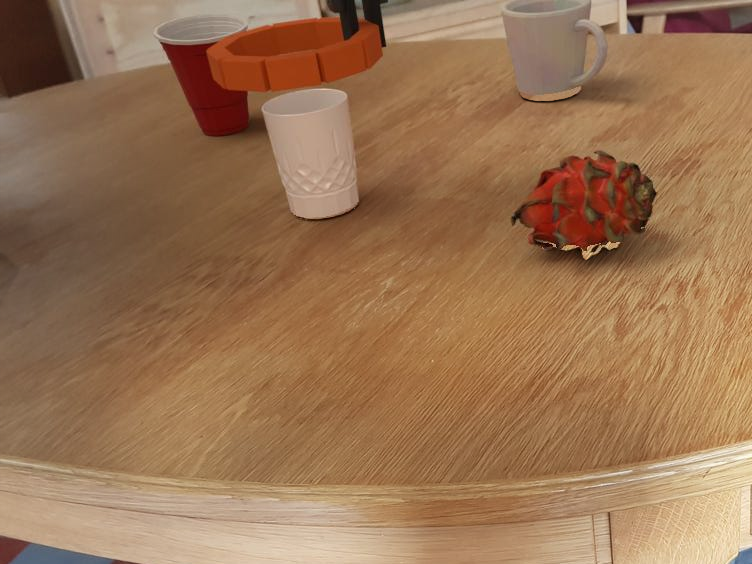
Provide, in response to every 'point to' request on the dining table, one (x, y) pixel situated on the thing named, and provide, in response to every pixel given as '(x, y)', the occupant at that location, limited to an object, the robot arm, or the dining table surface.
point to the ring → (293, 55)
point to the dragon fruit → (587, 203)
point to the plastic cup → (205, 69)
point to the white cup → (314, 150)
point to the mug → (551, 44)
